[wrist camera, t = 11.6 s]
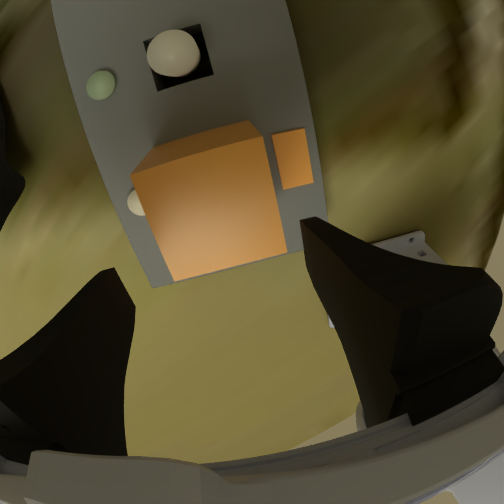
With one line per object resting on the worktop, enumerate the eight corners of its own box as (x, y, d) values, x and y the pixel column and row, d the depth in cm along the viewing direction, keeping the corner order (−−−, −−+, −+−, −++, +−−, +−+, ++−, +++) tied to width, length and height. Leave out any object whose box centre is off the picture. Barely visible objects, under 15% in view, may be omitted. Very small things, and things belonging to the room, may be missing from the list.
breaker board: (248, -73, 10) (255, -96, 7) (316, 222, 22) (332, 245, 19) (66, -16, 11) (43, -28, 8) (158, 263, 22) (151, 292, 19)
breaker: (195, 35, 13) (190, 23, 10) (205, 70, 14) (202, 67, 11) (156, 47, 13) (141, 39, 10) (166, 82, 15) (153, 82, 11)
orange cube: (248, 120, 15) (262, 136, 11) (268, 207, 18) (287, 252, 14) (152, 147, 15) (129, 175, 11) (182, 230, 18) (174, 281, 14)
